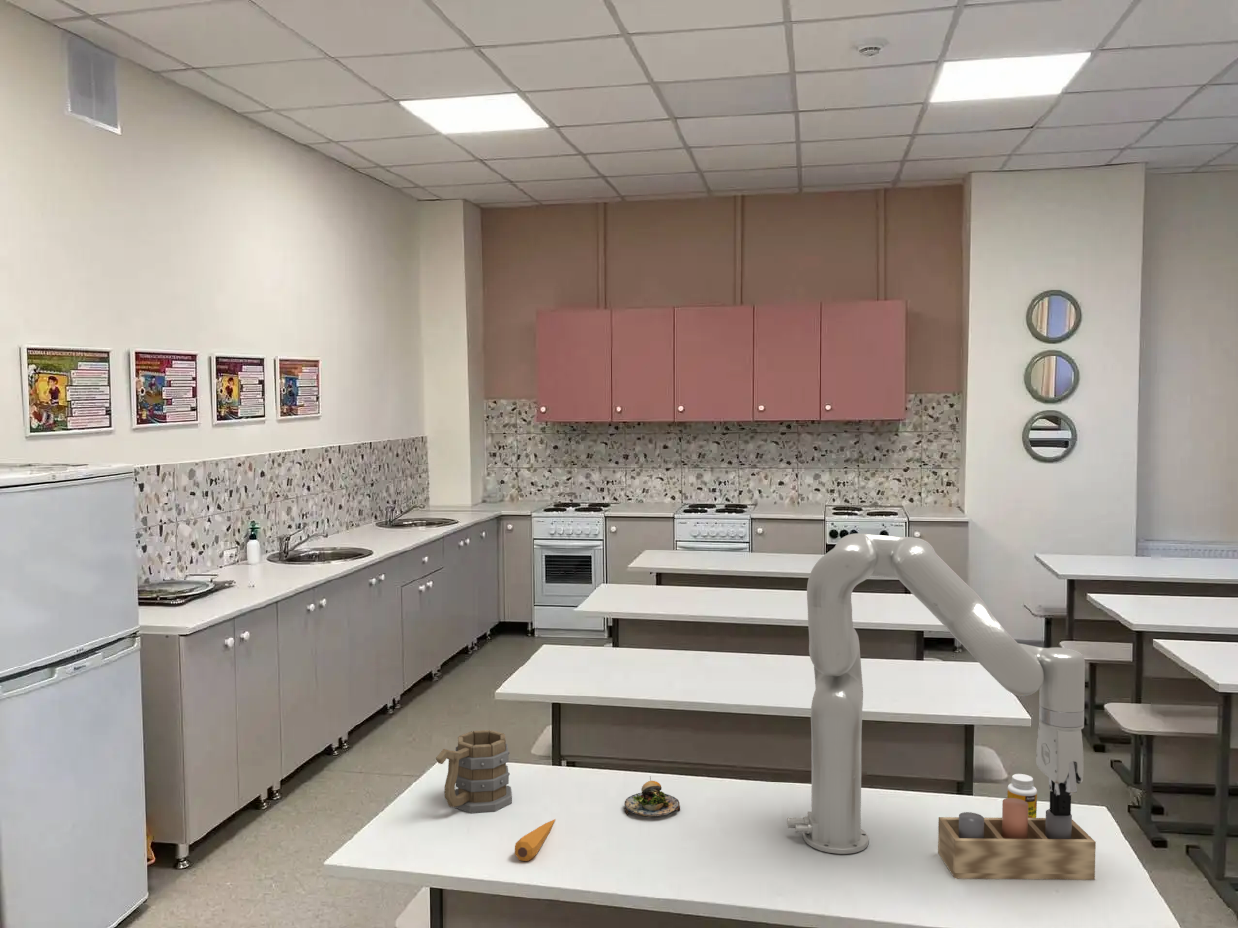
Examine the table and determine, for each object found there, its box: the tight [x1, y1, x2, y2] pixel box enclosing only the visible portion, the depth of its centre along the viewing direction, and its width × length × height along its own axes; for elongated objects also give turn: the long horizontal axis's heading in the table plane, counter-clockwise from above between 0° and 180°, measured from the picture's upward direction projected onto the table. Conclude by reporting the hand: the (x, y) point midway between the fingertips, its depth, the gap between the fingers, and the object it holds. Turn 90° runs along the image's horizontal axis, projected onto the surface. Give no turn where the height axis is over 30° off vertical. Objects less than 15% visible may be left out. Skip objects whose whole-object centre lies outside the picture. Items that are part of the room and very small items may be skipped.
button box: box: [937, 816, 1097, 881], centre depth 178 cm, size 25×10×7 cm, turn 89°
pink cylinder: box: [1001, 798, 1028, 839], centre depth 178 cm, size 4×4×7 cm
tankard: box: [435, 729, 513, 814], centre depth 205 cm, size 20×13×15 cm, turn 144°
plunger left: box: [958, 811, 985, 839], centre depth 178 cm, size 4×4×7 cm
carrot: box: [514, 818, 556, 862], centre depth 190 cm, size 20×4×4 cm, turn 166°
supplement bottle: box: [1007, 773, 1038, 818], centre depth 195 cm, size 6×6×10 cm
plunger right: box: [1045, 808, 1073, 839], centre depth 178 cm, size 4×4×7 cm
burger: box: [624, 777, 681, 817], centre depth 204 cm, size 12×12×8 cm
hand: (1060, 813), depth 177 cm, fingers closed
